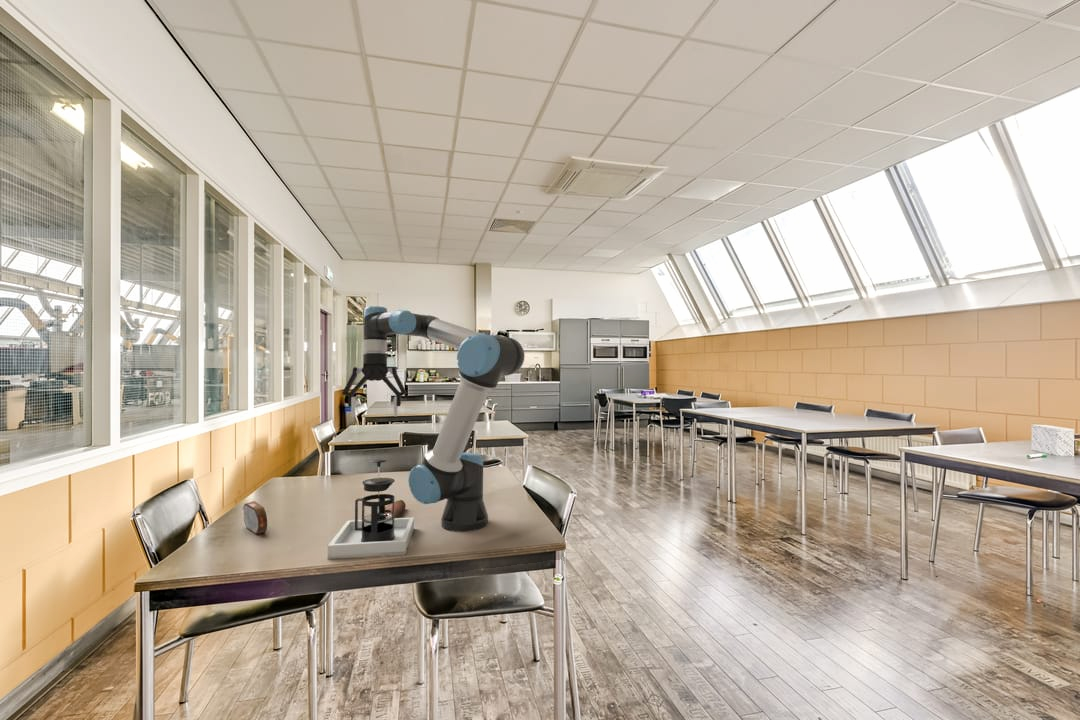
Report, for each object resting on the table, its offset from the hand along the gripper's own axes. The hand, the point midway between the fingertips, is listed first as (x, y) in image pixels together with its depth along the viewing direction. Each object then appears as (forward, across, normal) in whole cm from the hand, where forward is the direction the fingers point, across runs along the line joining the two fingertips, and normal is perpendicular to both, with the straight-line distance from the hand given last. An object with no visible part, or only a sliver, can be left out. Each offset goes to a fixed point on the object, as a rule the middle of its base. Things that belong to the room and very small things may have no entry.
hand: (374, 416), depth 160 cm
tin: (+35, +35, +4) cm, 50 cm away
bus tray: (+35, -4, +21) cm, 41 cm away
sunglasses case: (+35, -4, -4) cm, 36 cm away
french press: (+34, -4, +21) cm, 40 cm away
